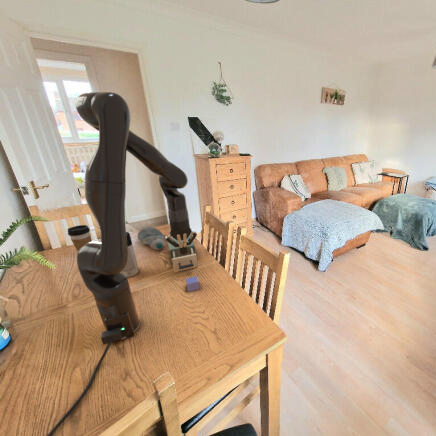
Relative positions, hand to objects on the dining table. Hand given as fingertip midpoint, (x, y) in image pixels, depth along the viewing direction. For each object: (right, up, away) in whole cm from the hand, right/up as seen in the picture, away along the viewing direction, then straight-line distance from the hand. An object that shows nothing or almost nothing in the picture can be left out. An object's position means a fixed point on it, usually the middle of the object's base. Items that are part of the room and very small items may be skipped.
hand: (184, 253), depth 106 cm
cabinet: (-10, -4, +20) cm, 22 cm away
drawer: (-4, -7, +10) cm, 13 cm away
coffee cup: (-59, -3, +18) cm, 62 cm away
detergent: (-31, +1, +30) cm, 43 cm away
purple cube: (+5, -14, -3) cm, 15 cm away
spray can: (-27, -10, +4) cm, 29 cm away
